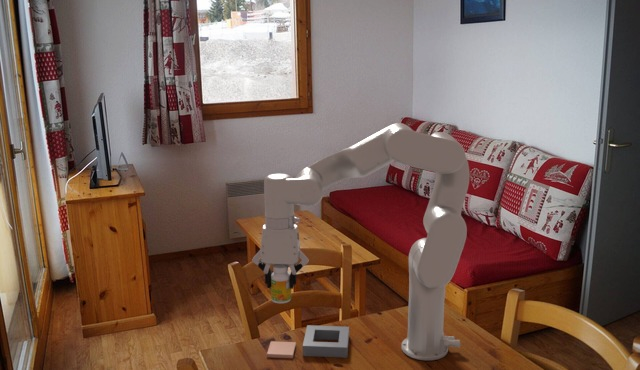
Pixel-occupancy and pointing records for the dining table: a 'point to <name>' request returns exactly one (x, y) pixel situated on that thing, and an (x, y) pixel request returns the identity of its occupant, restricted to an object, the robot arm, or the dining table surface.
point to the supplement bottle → (280, 284)
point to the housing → (326, 347)
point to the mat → (281, 349)
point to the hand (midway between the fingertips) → (280, 285)
